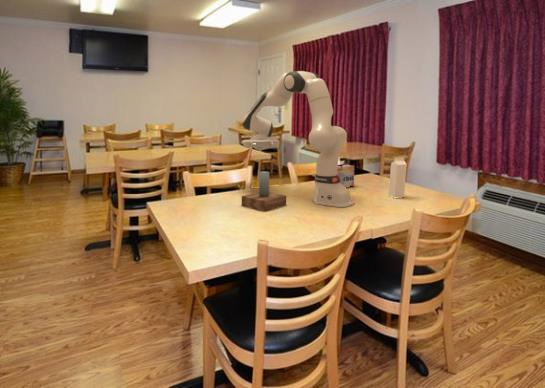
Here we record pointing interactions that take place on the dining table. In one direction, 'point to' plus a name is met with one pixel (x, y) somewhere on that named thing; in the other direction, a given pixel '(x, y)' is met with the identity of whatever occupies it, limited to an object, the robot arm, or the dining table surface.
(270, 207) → the walnut base
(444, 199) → the dining table surface
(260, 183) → the grey rectangular block
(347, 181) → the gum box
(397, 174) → the milk
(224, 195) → the dining table surface
